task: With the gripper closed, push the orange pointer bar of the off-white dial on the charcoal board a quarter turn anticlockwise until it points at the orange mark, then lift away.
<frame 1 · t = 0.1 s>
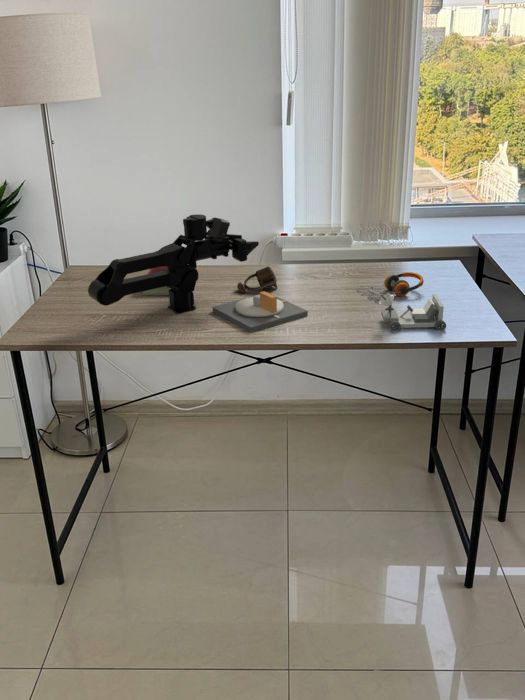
hand: (249, 239, 226), 17 cm above the table, fingers open, 9 cm apart
brown curved looped piece: (257, 289, 235), on the table
headphones: (392, 294, 228), on the table
dial: (259, 299, 213), point 4 cm above the table, hinge at 0.0°
toy car: (409, 324, 206), on the table
hardcover book: (166, 285, 241), on the table
dial board: (259, 313, 215), on the table
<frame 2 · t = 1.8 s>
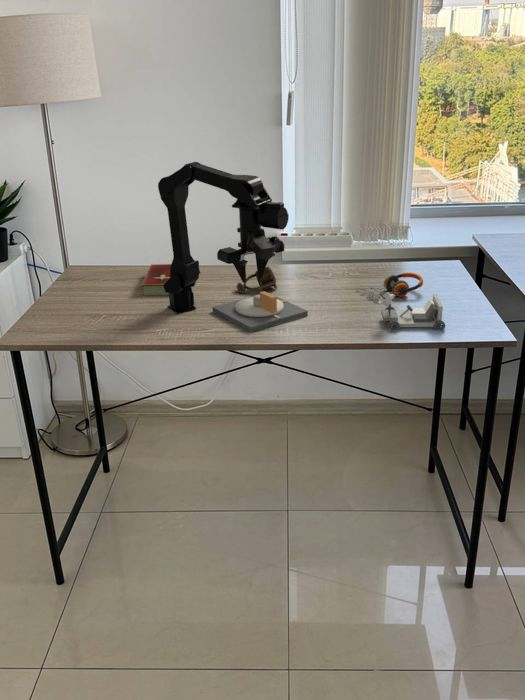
hand: (252, 280, 202), 13 cm above the table, fingers open, 5 cm apart
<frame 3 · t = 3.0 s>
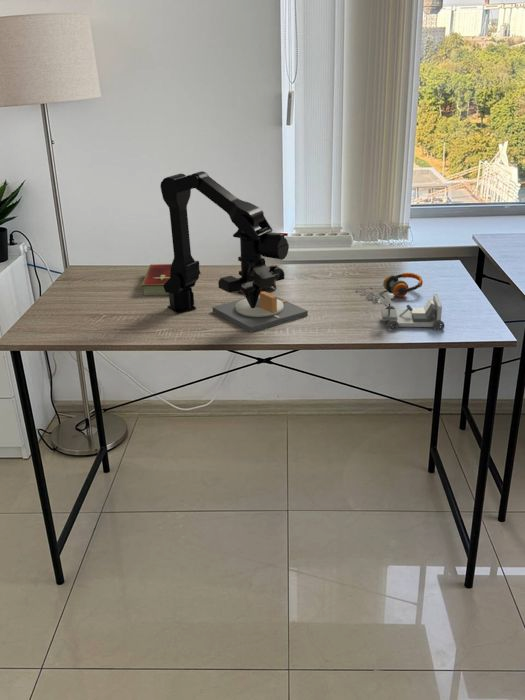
hand: (252, 307, 206), 5 cm above the table, fingers closed
nothing on the table moved.
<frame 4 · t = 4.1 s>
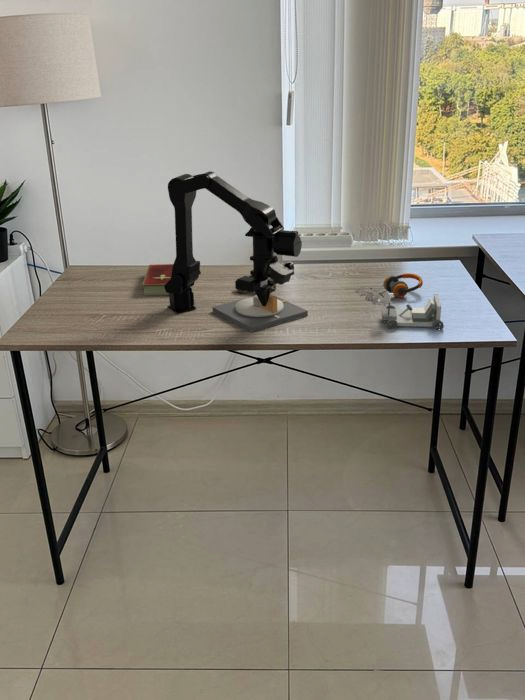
hand: (264, 306, 207), 5 cm above the table, fingers closed
dial: (259, 299, 213), point 4 cm above the table, hinge at 1.4°, touching gripper
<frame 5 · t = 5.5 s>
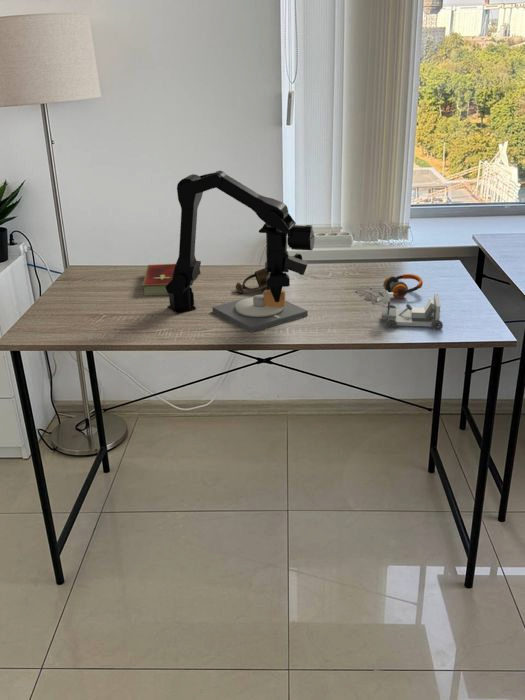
hand: (277, 301, 210), 5 cm above the table, fingers closed
dial: (260, 299, 213), point 4 cm above the table, hinge at 44.5°, touching gripper
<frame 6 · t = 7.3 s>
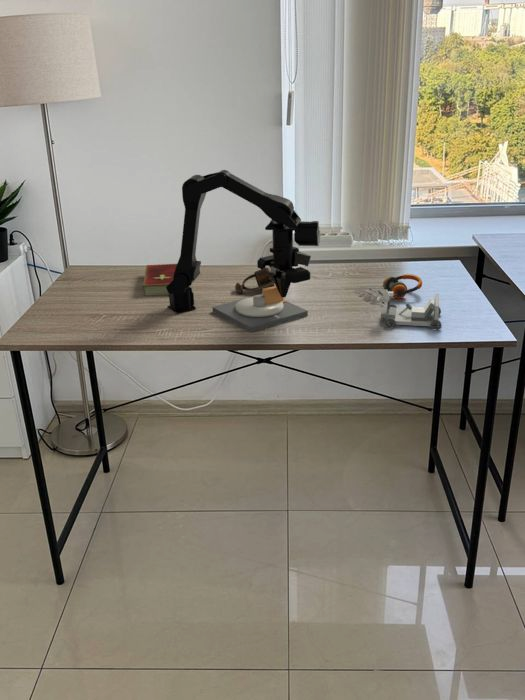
hand: (283, 297, 212), 5 cm above the table, fingers closed
dial: (260, 299, 213), point 4 cm above the table, hinge at 83.6°
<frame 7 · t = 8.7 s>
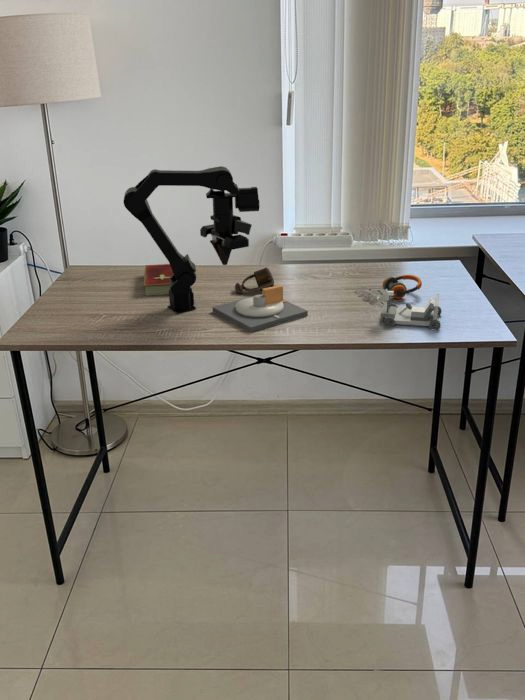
hand: (224, 264, 216), 13 cm above the table, fingers closed
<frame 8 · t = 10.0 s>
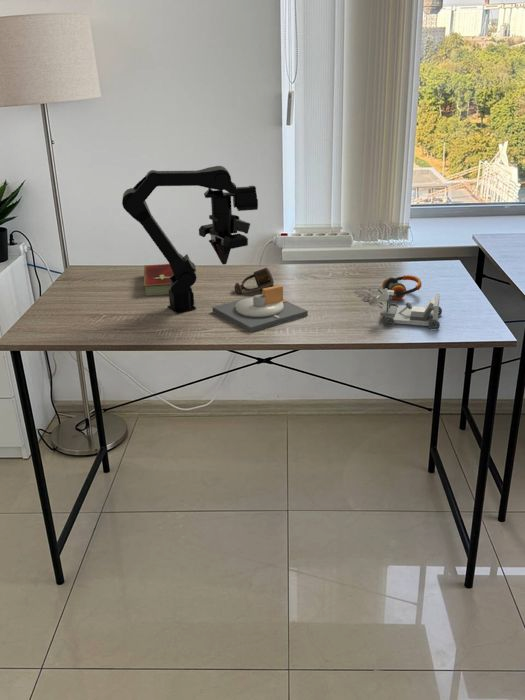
hand: (224, 264, 217), 13 cm above the table, fingers closed
at the end: dial at +84° (first picture: +0°) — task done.
